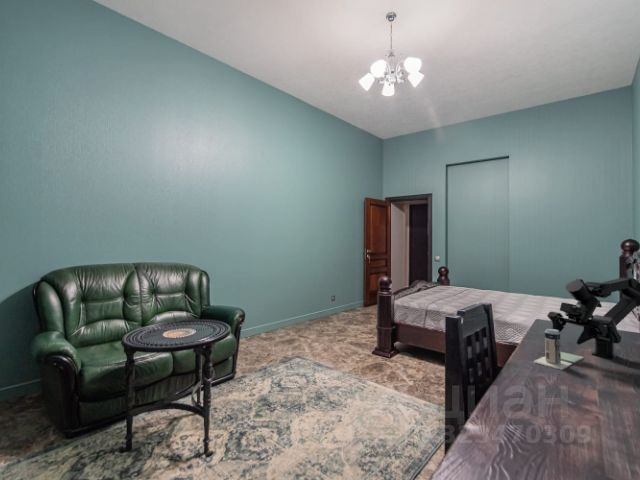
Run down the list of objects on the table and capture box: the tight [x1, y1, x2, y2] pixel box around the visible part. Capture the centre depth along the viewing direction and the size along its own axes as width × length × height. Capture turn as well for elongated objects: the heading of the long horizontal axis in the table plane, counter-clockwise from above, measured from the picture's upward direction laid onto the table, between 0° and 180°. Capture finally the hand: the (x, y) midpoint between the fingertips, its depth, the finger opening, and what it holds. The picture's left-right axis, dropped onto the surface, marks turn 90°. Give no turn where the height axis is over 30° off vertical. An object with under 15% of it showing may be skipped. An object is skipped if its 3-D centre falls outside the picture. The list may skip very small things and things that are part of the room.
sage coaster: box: [560, 351, 585, 364], centre depth 125 cm, size 9×9×1 cm
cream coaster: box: [533, 356, 573, 371], centre depth 118 cm, size 9×9×1 cm
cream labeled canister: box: [544, 328, 562, 364], centre depth 119 cm, size 5×5×12 cm
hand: (564, 340), depth 120 cm, fingers open, 9 cm apart
